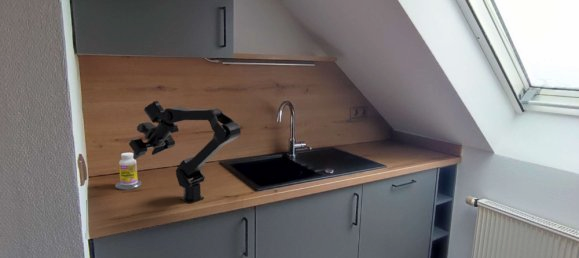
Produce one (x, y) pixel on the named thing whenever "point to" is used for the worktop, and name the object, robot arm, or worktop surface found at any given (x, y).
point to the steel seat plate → (122, 187)
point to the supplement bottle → (128, 169)
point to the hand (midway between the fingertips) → (143, 156)
